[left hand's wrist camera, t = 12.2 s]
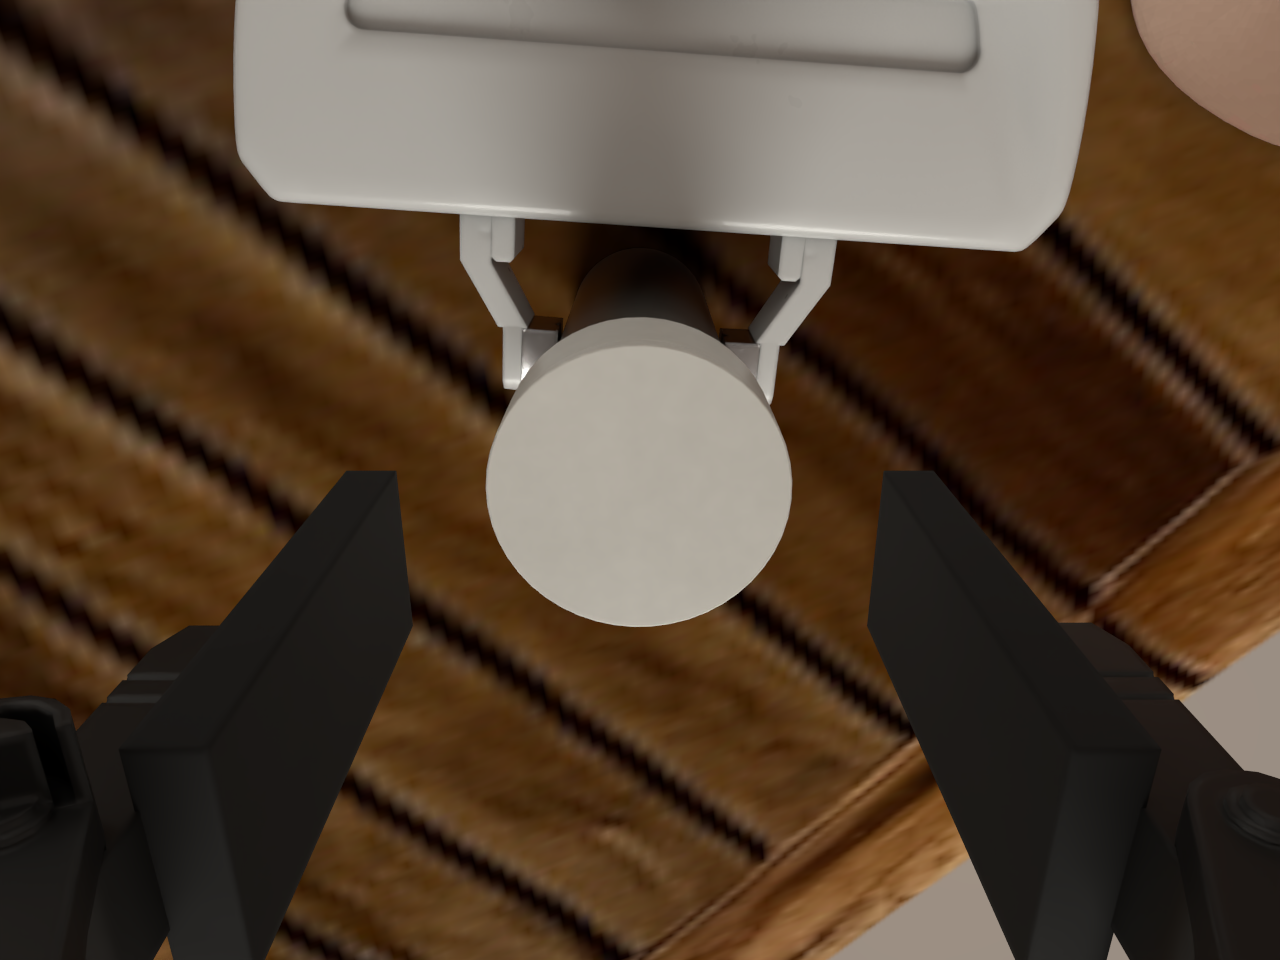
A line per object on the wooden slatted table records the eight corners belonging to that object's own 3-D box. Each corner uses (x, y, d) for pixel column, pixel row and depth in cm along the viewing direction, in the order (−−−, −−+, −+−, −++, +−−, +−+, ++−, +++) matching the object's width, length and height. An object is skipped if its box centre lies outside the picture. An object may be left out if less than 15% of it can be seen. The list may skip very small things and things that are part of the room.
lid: (726, 275, 17) (737, 297, 15) (808, 525, 19) (829, 575, 17) (458, 372, 18) (435, 407, 16) (563, 604, 20) (554, 662, 18)
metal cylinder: (680, 227, 30) (716, 331, 16) (723, 353, 31) (791, 550, 17) (553, 275, 30) (477, 416, 16) (602, 396, 32) (570, 621, 18)
